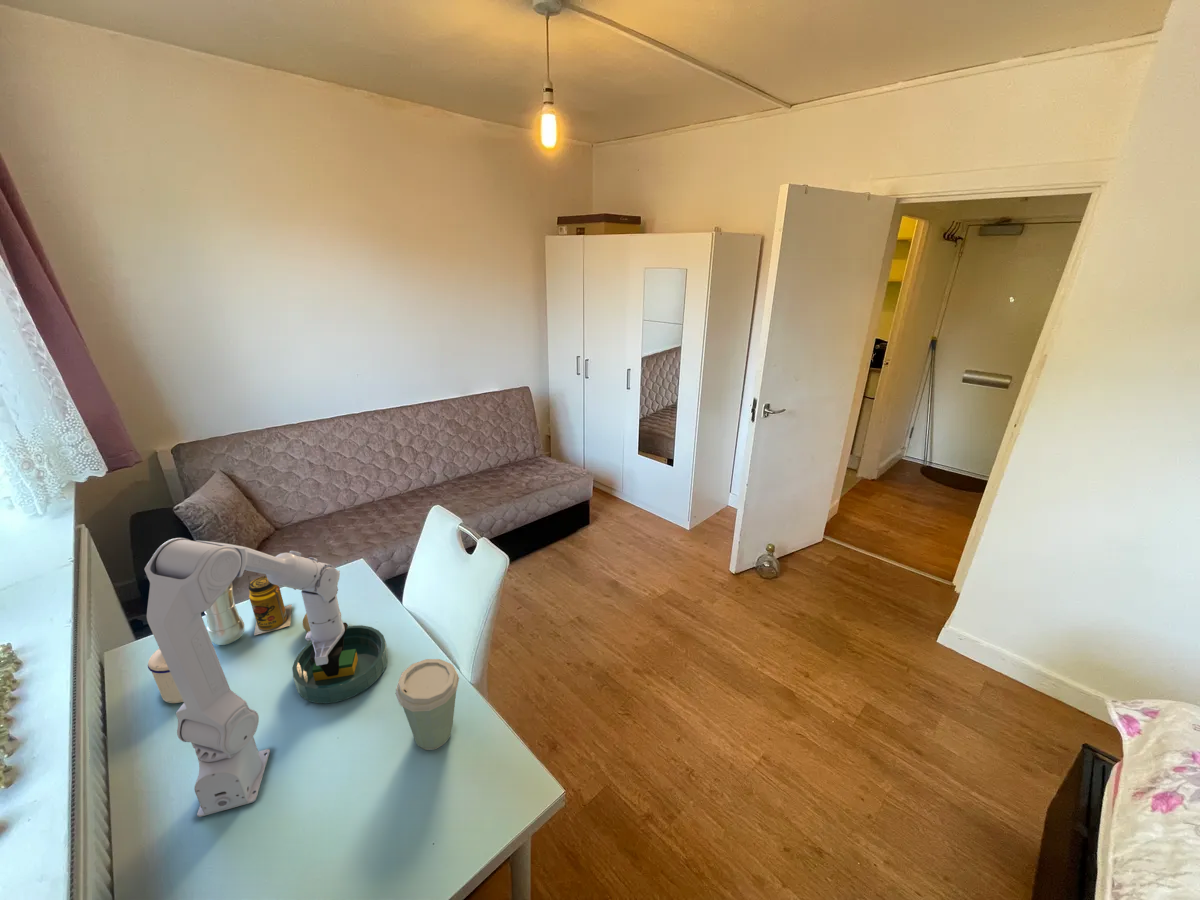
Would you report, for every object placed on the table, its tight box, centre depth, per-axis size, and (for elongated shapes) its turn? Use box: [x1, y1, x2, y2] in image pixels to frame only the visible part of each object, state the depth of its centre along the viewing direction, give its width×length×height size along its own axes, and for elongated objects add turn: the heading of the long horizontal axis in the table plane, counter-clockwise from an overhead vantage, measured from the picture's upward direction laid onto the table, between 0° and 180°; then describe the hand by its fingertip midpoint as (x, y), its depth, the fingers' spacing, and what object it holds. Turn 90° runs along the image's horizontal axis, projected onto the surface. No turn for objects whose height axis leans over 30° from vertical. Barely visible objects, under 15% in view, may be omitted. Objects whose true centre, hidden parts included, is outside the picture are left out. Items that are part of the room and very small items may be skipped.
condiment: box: [248, 575, 293, 636], centre depth 116 cm, size 7×8×12 cm
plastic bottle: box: [203, 582, 245, 646], centre depth 109 cm, size 6×7×20 cm
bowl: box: [291, 624, 389, 704], centre depth 104 cm, size 18×18×4 cm
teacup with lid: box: [147, 647, 184, 704], centre depth 99 cm, size 12×9×12 cm
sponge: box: [312, 649, 358, 681], centre depth 104 cm, size 8×4×3 cm, turn 105°
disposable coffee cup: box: [395, 658, 460, 751], centre depth 89 cm, size 11×11×15 cm
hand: (335, 665), depth 104 cm, fingers closed on sponge, 4 cm apart
